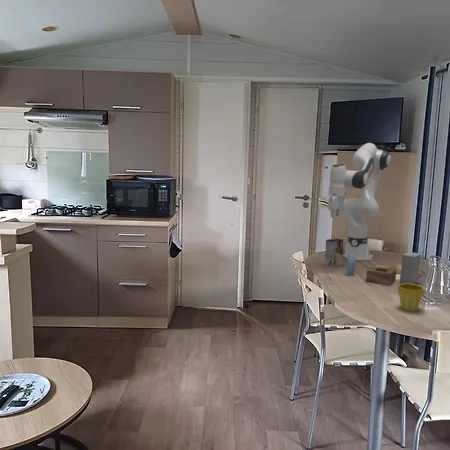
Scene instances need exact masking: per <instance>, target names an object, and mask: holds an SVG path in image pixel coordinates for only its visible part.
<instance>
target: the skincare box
mask: <svg viewBox="0 0 450 450" xmlns="http://www.w3.org/2000/svg"><path fill="white" fill-rule="evenodd" d="M421 256H422V255H421V253H417V252H413V251H408V252H405V253H403V254H402V258H401V265H400V267H401V268H400V276H399V283H400V284H403V283H408V284H417V283H418V280H419V271H420V264H421V263H420V262H421Z"/></svg>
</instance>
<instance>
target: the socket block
mask: <svg viewBox="0 0 450 450" xmlns="http://www.w3.org/2000/svg"><path fill="white" fill-rule="evenodd" d="M396 277H397V269H395V268H388V267H381V266H372V267H370V268H368V269H367V270H366V278H365V279H366V280H365V282H366V283H373V284H376V285H377V284H378V285H385V286H388V287H389V286H391V285H392V284H394V283H395V281H396V280H397V278H396Z"/></svg>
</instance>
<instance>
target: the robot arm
mask: <svg viewBox="0 0 450 450" xmlns="http://www.w3.org/2000/svg"><path fill="white" fill-rule="evenodd" d="M391 161H392V154H391V153H390V152H389V151H387V150H383V149H378V148H377V146H376V145H375V144H374V143H372V142H366V143H365V144H363V145H362V146H360V147H359V148H358V149H357V150H356V151H355V152H354V154H353V156H352V162H353V164H354V166H355V167H356V168H358V169H361V170H349V169H347V166H346V164H343V163H335V164H333V165H331V169H330V172H329V186H328V196H329V197H328V200H327V201H328V203H327V209H328V210H329V211H330V218H331V219H335V217H339V216H340V213H341V212H343V214H344V216H346V219H347V222H348V236H347V243H346V244H345V247H344V254H343V255H342V258H345V259H347V260H348V254H349V253H353V254H356V256H355V261H372V260H373V257H374V254H371V253H370V252H371V248H370V245H369V244H368V239H369V237H368V236H367V235H368V234H367V233H368V226H367V223H366V222H364V221H363V219H362V217H366V218H370V217H376V216H377V214H378V213H379V211H380V206H379V203H378V202H377V200H376V198H375V194H376V189H377V187H378V184H379V182H380V179H381V174H382V171H383V170H384V169H386V168H388V166H389V165H390V163H391ZM346 188H353V189H354V188H355V189H357V191H358V192H359V194H360V195H361V196H360V198H354V197H349V198H345V197H346V195H347V193H346Z"/></svg>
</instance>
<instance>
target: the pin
mask: <svg viewBox="0 0 450 450" xmlns="http://www.w3.org/2000/svg"><path fill="white" fill-rule="evenodd" d="M355 256H356V254H353V253H349V254H348V259H347V267H346V271H347V272H346V275H347V276H348V277H354V276H355V273H356V271H355V269H356V260H355Z"/></svg>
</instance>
